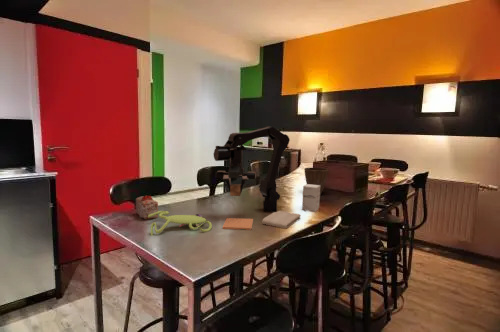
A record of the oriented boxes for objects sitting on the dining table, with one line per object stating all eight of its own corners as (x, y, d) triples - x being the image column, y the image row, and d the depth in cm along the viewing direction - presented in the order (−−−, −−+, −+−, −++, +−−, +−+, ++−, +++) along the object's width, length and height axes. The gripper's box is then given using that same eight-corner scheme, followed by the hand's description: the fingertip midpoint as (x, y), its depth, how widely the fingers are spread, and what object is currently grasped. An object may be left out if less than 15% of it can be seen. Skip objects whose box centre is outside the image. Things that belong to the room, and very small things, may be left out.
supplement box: (301, 209, 152) (302, 185, 150) (305, 206, 158) (306, 183, 156) (315, 212, 148) (316, 187, 146) (319, 208, 155) (320, 184, 153)
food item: (160, 218, 135) (160, 197, 133) (143, 221, 130) (142, 200, 128) (149, 211, 145) (148, 192, 144) (133, 214, 140) (132, 194, 139)
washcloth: (301, 219, 138) (301, 212, 138) (286, 230, 123) (286, 223, 122) (278, 214, 144) (278, 208, 143) (261, 225, 128) (261, 218, 128)
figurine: (149, 221, 131) (149, 209, 130) (209, 218, 136) (209, 207, 135) (142, 237, 113) (142, 223, 112) (212, 233, 118) (212, 219, 117)
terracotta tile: (253, 220, 133) (253, 218, 133) (251, 229, 121) (251, 228, 121) (226, 219, 134) (226, 218, 134) (222, 228, 122) (222, 227, 122)
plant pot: (299, 191, 194) (300, 167, 192) (319, 190, 198) (320, 167, 196) (310, 196, 180) (311, 171, 178) (331, 195, 184) (333, 170, 182)
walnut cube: (241, 193, 142) (241, 184, 141) (240, 196, 137) (240, 186, 137) (231, 193, 142) (231, 184, 141) (230, 195, 137) (230, 186, 137)
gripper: (212, 161, 130) (213, 195, 132) (254, 162, 129) (254, 197, 131) (217, 158, 141) (217, 190, 143) (256, 159, 140) (255, 191, 142)
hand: (235, 192), depth 139 cm, fingers closed on walnut cube, 5 cm apart
